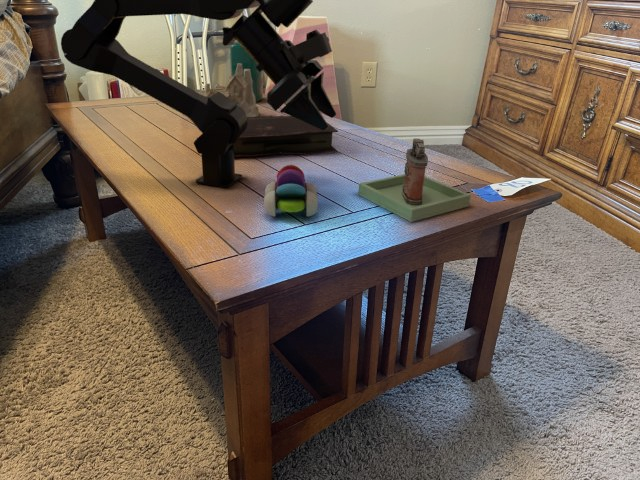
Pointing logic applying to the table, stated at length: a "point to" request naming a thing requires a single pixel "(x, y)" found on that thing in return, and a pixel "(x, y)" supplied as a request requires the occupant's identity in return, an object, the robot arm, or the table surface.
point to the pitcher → (242, 57)
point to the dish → (433, 203)
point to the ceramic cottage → (237, 91)
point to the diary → (282, 137)
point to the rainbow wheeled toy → (290, 193)
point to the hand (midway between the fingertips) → (330, 122)
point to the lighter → (414, 173)
